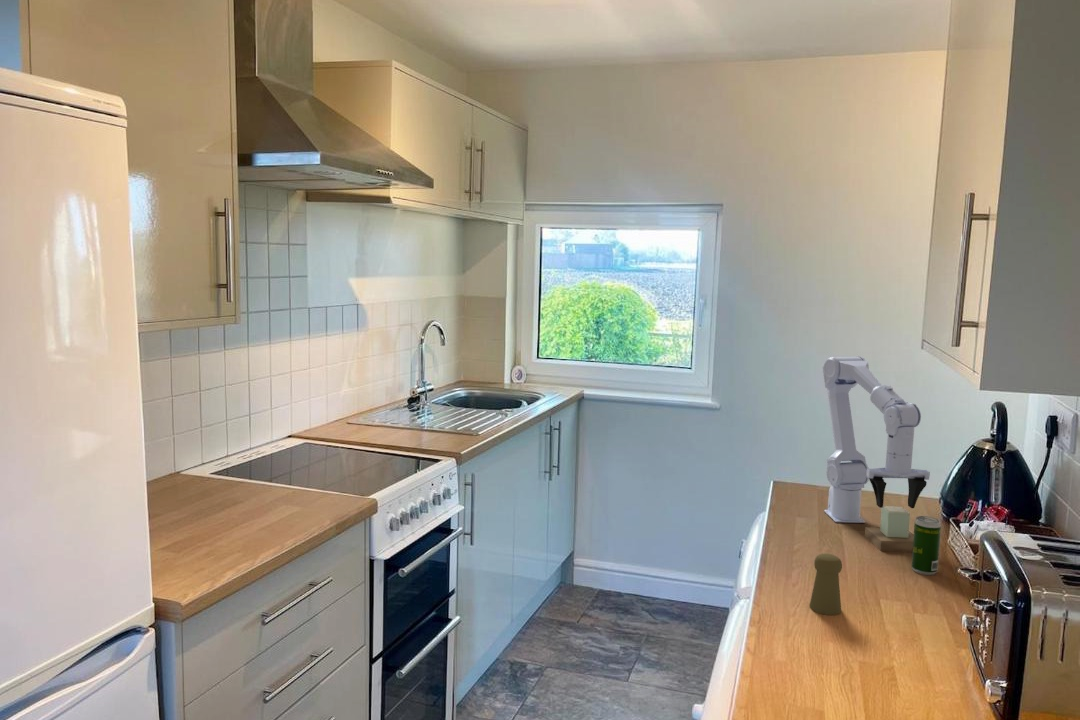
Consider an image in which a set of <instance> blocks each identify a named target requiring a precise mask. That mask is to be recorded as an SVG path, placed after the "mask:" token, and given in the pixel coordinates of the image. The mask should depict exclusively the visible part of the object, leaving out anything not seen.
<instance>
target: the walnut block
mask: <svg viewBox="0 0 1080 720" xmlns="http://www.w3.org/2000/svg"><path fill="white" fill-rule="evenodd" d="M864 537H865V538H866V540H867V541H869V542H870V543H871V544H872V545H874V547H876V548H877V550H879V551H880V552H908V553H909V552H910V553H911V552H912V550H913V537H914V533H913V532H911V531H910V530H909V537H908V538H900V537H887V536H886V535H884V534H883V533H882V532H881V531H880V526H879V527H878V526H865V528H864Z"/></svg>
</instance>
